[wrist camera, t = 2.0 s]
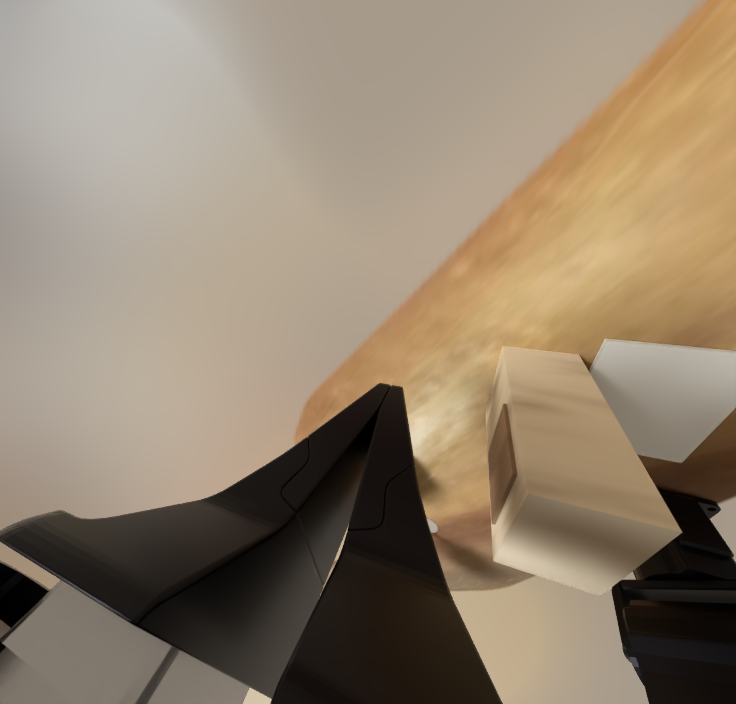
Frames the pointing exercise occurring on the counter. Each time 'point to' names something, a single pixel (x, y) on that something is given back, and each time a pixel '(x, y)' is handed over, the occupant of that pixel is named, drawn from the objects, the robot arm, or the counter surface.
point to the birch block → (566, 476)
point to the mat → (665, 393)
